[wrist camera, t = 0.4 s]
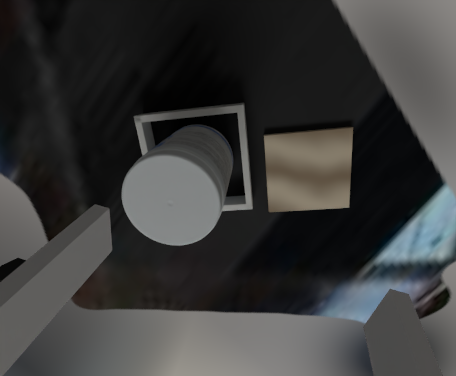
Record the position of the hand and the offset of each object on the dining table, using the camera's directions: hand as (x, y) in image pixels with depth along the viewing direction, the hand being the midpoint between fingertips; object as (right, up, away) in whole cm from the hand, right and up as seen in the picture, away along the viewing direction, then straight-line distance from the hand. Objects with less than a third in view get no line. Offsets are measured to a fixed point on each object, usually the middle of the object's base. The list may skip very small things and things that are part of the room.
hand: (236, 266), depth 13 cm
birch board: (+10, +6, +25) cm, 27 cm away
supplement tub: (-4, +8, +26) cm, 27 cm away
